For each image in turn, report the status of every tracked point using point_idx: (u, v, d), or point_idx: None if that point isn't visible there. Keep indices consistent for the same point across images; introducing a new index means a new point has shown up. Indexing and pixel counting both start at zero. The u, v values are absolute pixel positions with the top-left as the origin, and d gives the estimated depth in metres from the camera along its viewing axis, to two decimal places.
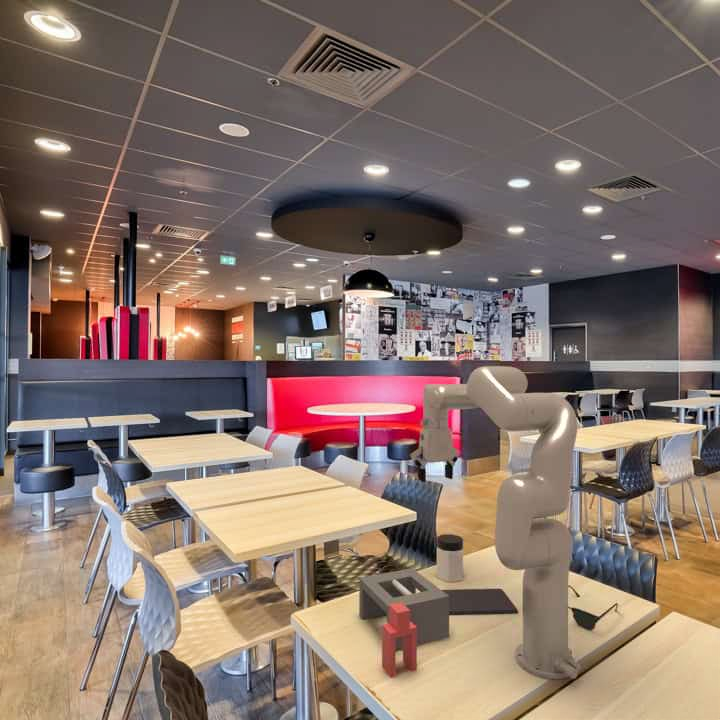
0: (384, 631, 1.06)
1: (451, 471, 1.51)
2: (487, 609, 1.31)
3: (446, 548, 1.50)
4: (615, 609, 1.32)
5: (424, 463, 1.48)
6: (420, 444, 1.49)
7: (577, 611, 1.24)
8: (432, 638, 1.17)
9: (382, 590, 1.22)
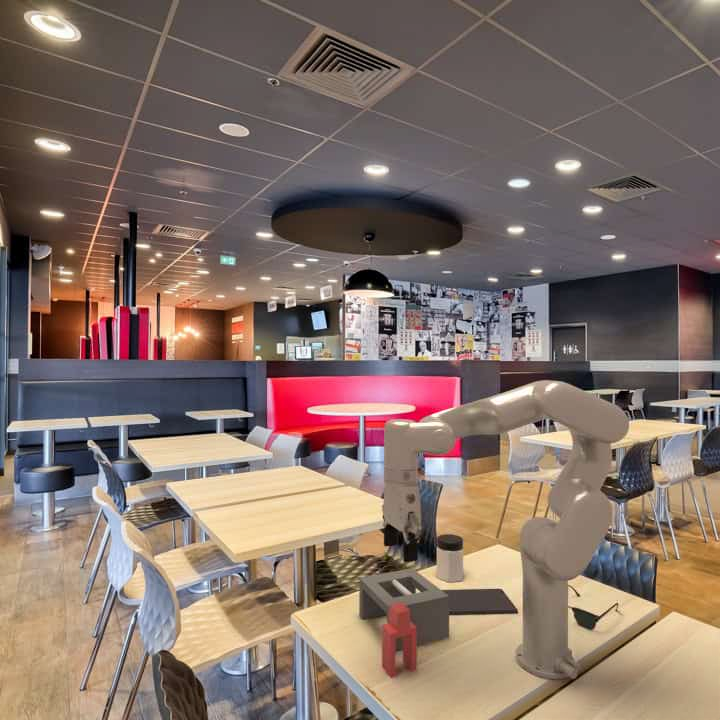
0: (384, 631, 1.06)
1: None
2: (487, 609, 1.31)
3: (446, 548, 1.50)
4: (616, 609, 1.33)
5: None
6: (409, 509, 1.04)
7: (578, 611, 1.25)
8: (432, 638, 1.17)
9: (382, 590, 1.22)
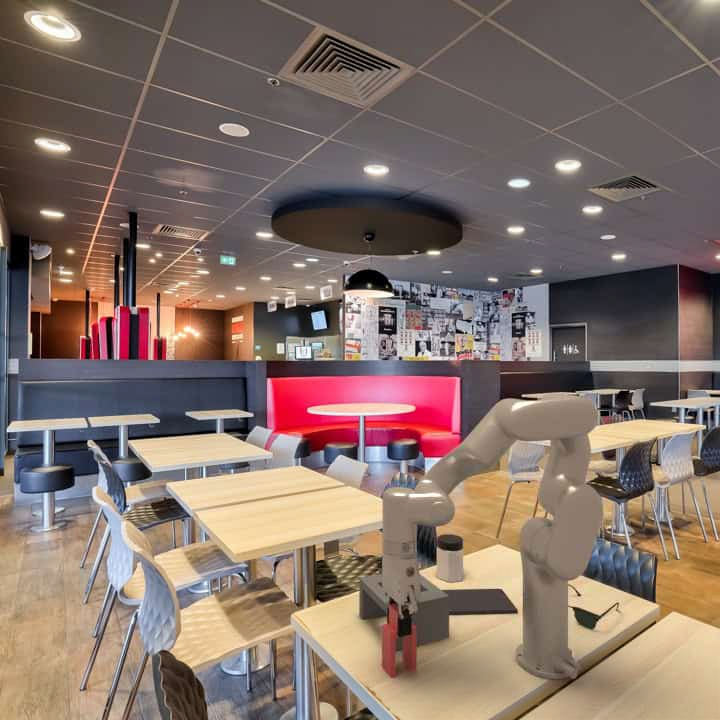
0: (384, 631, 1.06)
1: None
2: (487, 609, 1.31)
3: (446, 548, 1.50)
4: None
5: None
6: (409, 583, 1.02)
7: (578, 610, 1.25)
8: (432, 638, 1.17)
9: (382, 590, 1.22)
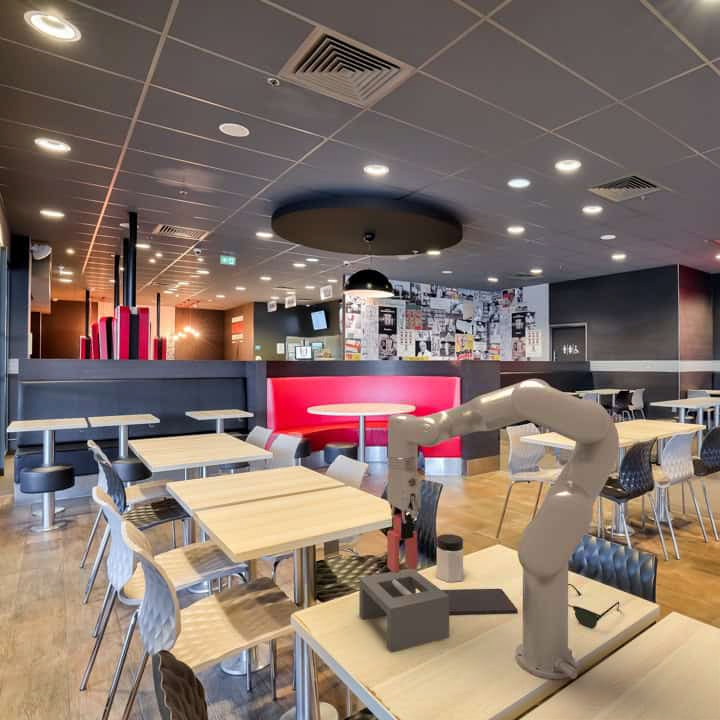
0: (389, 536, 1.24)
1: None
2: (487, 609, 1.31)
3: (446, 548, 1.50)
4: (617, 608, 1.33)
5: None
6: (411, 491, 1.20)
7: (579, 610, 1.25)
8: (432, 638, 1.17)
9: (382, 590, 1.22)
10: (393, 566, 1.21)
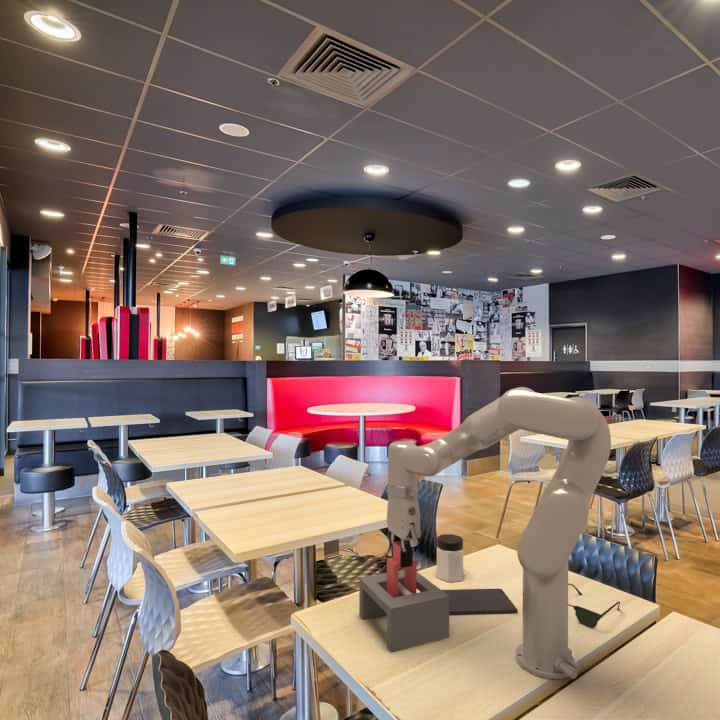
0: (388, 564, 1.24)
1: None
2: (486, 609, 1.31)
3: (446, 548, 1.50)
4: None
5: None
6: (410, 520, 1.20)
7: (579, 609, 1.25)
8: (432, 638, 1.17)
9: (382, 590, 1.22)
10: (392, 594, 1.22)
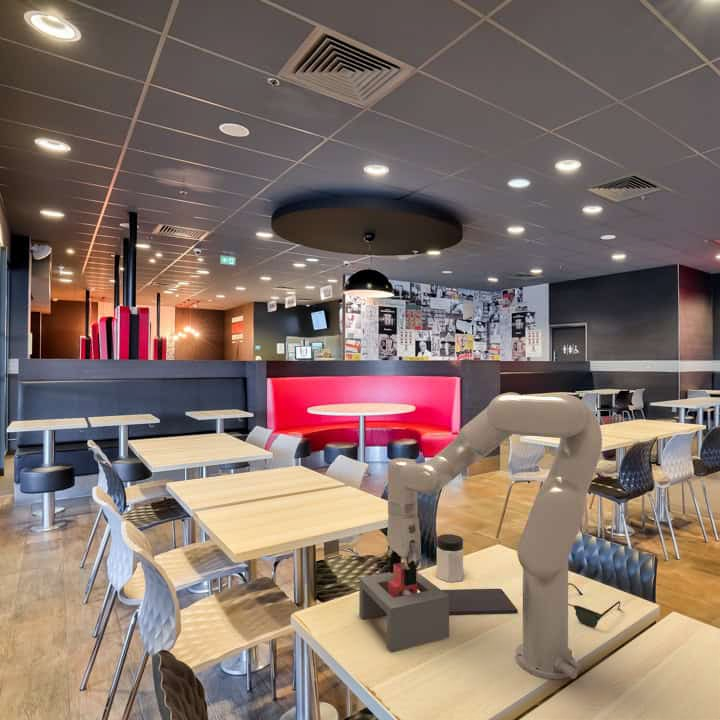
0: (389, 586, 1.24)
1: None
2: (486, 609, 1.31)
3: (446, 548, 1.50)
4: (618, 607, 1.33)
5: None
6: (410, 538, 1.20)
7: (580, 609, 1.26)
8: (432, 638, 1.17)
9: (382, 590, 1.22)
10: None
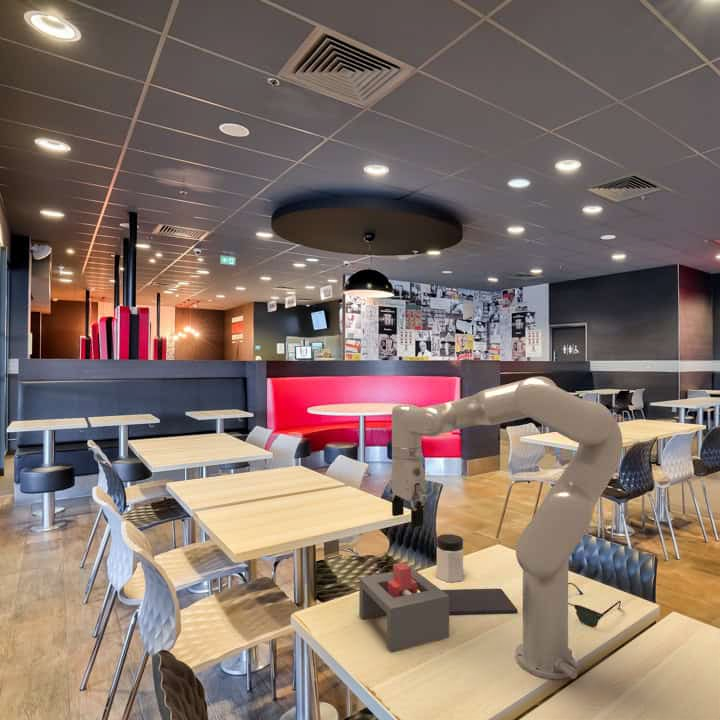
0: (389, 586, 1.24)
1: None
2: (486, 609, 1.31)
3: (446, 548, 1.50)
4: (618, 607, 1.34)
5: None
6: (415, 481, 1.21)
7: (580, 608, 1.26)
8: (432, 638, 1.17)
9: (382, 590, 1.22)
10: None
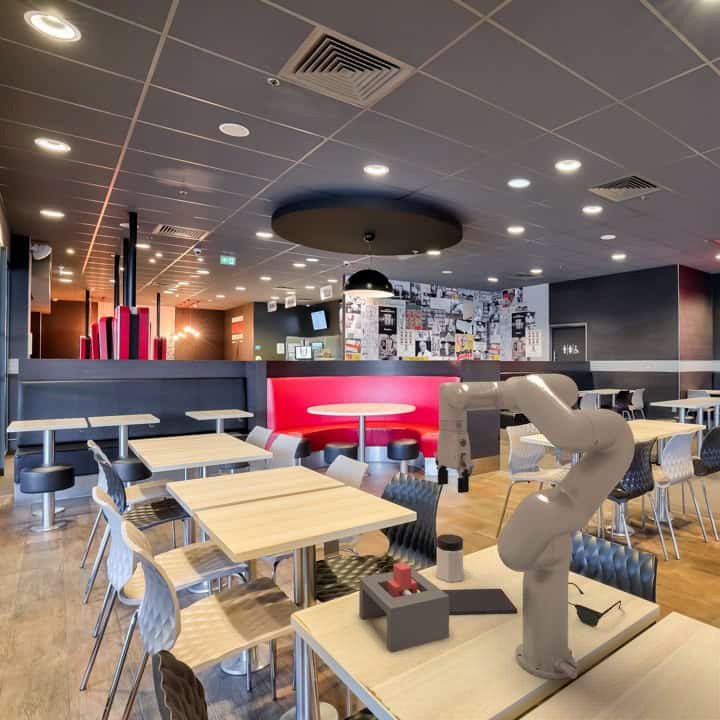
0: (389, 586, 1.24)
1: None
2: (486, 609, 1.31)
3: (446, 548, 1.50)
4: (619, 606, 1.34)
5: None
6: (462, 451, 1.31)
7: (581, 608, 1.26)
8: (432, 638, 1.17)
9: (382, 590, 1.22)
10: None
